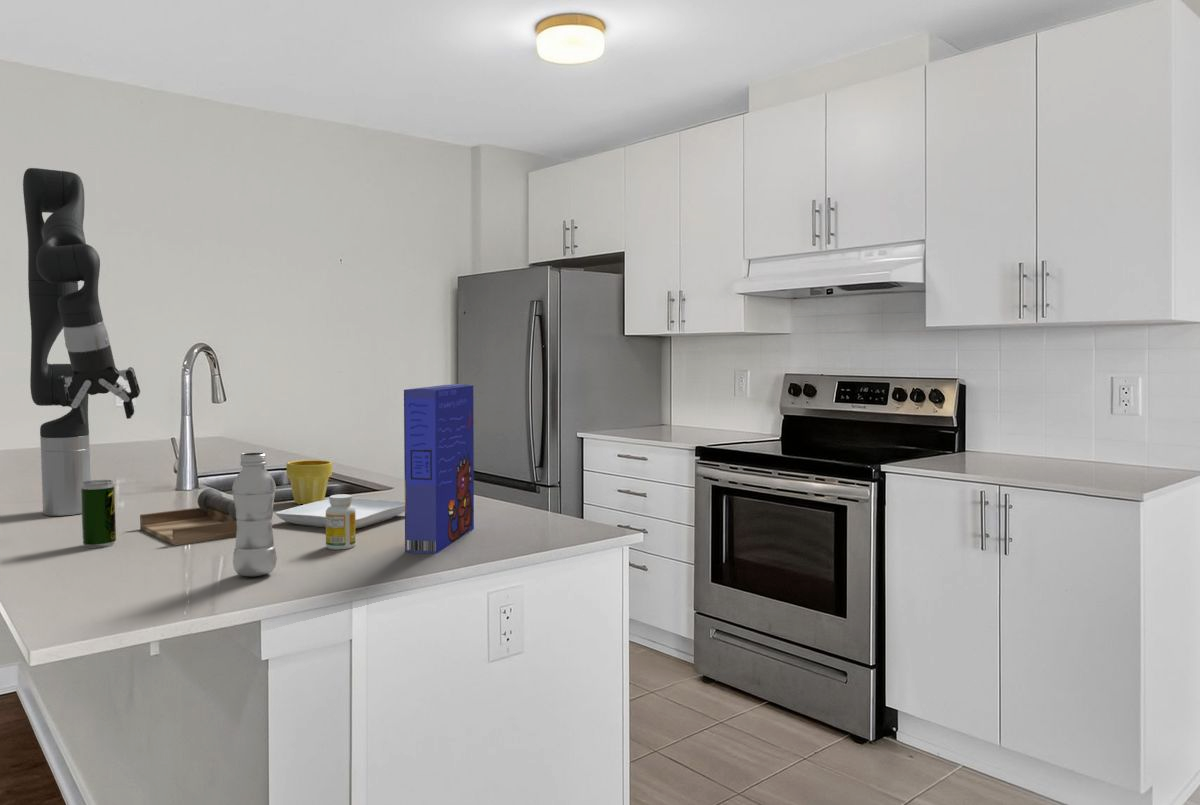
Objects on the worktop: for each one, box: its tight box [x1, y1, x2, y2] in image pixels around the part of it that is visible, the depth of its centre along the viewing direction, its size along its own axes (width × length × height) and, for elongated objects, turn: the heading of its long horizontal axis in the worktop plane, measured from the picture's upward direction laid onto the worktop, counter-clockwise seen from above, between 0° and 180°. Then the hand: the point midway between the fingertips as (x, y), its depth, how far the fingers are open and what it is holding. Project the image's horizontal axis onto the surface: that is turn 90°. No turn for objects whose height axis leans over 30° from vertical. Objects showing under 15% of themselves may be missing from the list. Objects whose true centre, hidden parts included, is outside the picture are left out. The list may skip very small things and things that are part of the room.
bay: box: [139, 487, 237, 546], centre depth 172 cm, size 20×16×7 cm
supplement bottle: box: [325, 493, 357, 551], centre depth 159 cm, size 5×5×10 cm
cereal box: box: [403, 383, 475, 555], centre depth 165 cm, size 22×6×30 cm, turn 170°
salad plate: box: [275, 497, 405, 530], centre depth 184 cm, size 21×21×3 cm
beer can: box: [81, 479, 117, 549], centre depth 159 cm, size 5×5×12 cm
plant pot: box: [286, 459, 333, 505], centre depth 205 cm, size 10×10×10 cm
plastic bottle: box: [231, 452, 278, 578], centre depth 139 cm, size 6×7×20 cm
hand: (106, 420), depth 177 cm, fingers open, 8 cm apart
